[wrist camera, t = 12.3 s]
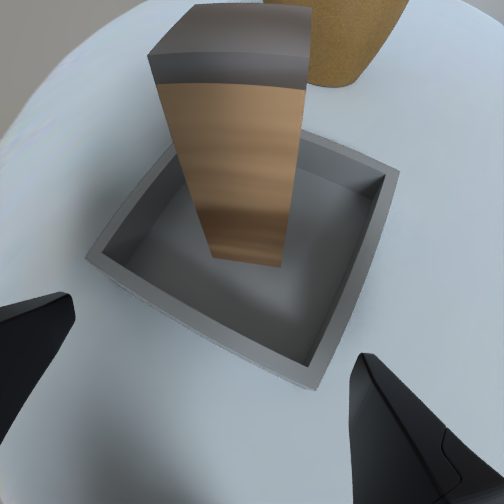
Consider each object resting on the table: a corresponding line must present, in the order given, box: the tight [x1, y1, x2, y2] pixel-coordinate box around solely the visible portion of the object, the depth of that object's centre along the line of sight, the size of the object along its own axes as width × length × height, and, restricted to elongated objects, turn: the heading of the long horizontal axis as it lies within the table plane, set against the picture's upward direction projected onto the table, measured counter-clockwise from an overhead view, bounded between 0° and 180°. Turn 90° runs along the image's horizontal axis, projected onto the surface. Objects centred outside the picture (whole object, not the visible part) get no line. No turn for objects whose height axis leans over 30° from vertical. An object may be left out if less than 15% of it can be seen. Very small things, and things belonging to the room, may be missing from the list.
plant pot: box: [263, 0, 409, 87], centre depth 20 cm, size 15×15×16 cm
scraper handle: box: [147, 3, 312, 268], centre depth 13 cm, size 4×4×13 cm
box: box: [85, 129, 400, 391], centre depth 18 cm, size 14×14×4 cm
